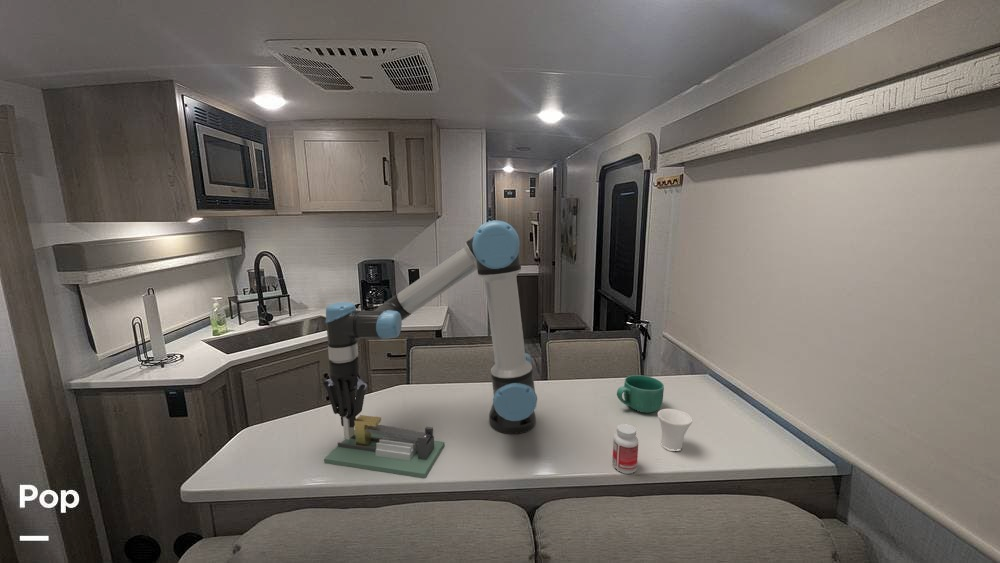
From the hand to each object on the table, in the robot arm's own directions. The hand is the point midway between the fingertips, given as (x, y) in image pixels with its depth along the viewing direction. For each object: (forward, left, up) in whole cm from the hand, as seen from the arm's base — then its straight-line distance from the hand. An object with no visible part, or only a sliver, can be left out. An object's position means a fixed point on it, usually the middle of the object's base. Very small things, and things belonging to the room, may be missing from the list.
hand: (349, 436), depth 106 cm
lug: (-6, 0, -2) cm, 6 cm away
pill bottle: (-77, -7, -3) cm, 77 cm away
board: (-12, +1, -3) cm, 12 cm away
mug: (-85, -40, -4) cm, 94 cm away
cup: (-91, -19, -3) cm, 93 cm away
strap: (-15, 0, +2) cm, 16 cm away
